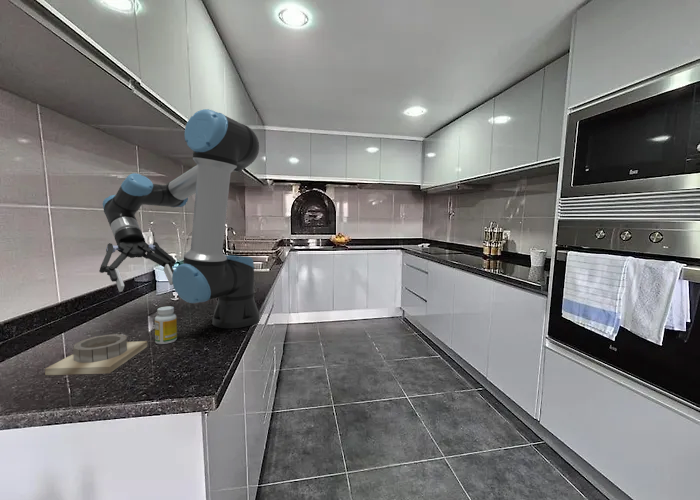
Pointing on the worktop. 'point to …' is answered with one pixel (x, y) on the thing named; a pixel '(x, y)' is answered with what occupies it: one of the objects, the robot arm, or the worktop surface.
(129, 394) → the worktop surface
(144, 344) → the jig plate
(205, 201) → the robot arm
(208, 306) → the worktop surface
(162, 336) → the supplement bottle
